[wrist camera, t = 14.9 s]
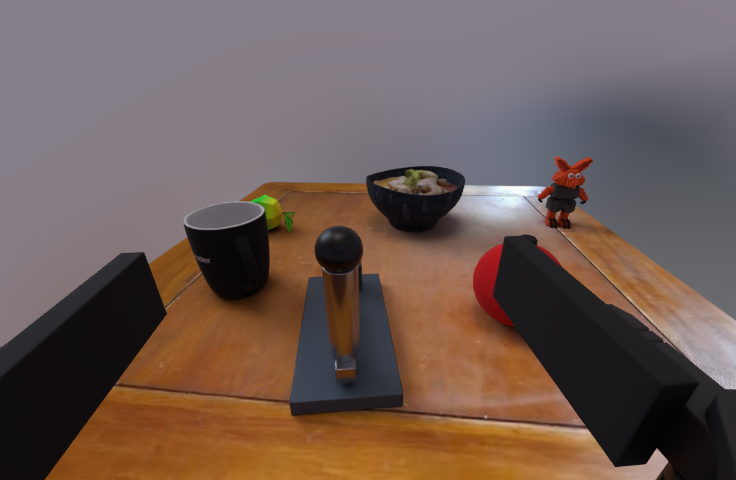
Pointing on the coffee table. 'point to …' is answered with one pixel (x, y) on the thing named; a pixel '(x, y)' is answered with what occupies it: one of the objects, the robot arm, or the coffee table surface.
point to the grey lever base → (373, 363)
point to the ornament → (486, 281)
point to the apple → (274, 212)
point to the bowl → (415, 195)
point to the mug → (230, 247)
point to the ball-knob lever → (341, 296)
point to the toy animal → (564, 191)
